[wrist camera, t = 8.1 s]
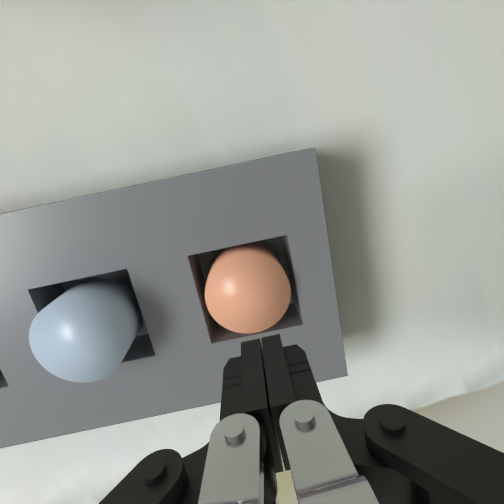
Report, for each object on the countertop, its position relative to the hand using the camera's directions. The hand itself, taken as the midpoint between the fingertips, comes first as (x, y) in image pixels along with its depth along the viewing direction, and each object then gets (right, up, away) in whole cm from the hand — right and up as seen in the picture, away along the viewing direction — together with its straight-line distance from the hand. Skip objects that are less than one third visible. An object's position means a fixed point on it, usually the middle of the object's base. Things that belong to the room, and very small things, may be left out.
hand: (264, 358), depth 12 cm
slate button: (-10, 0, +7) cm, 12 cm away
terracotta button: (-1, +3, +9) cm, 9 cm away
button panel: (-10, +1, +10) cm, 14 cm away
